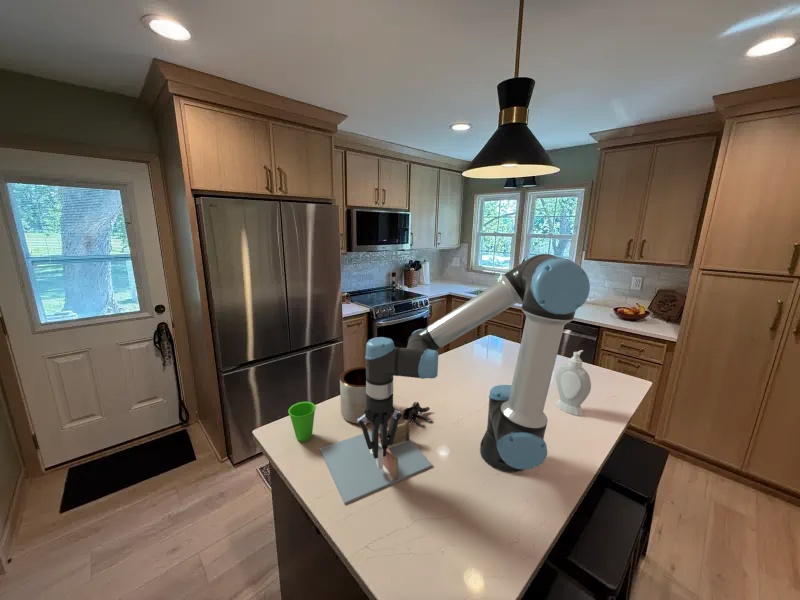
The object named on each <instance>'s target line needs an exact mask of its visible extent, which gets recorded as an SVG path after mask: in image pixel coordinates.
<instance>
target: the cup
mask: <svg viewBox="0 0 800 600" xmlns="http://www.w3.org/2000/svg"><path fill="white" fill-rule="evenodd" d="M316 409H317V406H316V404H314V403H313V402H311V401H310V402H309V401H300V402H297V403H295V404H293V405H291V406H290V407H289V408H288V411H287V413H288V415H289V417H290V419H291V423H292V427H293V431H294V433H295V434H294V435H295V438H296V440H297V441H298V442H303V443H304V442H307V441H309V440H311V438H312V436H313V430H314V422H315V421H314V419H315V411H316Z"/></svg>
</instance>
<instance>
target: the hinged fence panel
mask: <svg viewBox="0 0 800 600" xmlns="http://www.w3.org/2000/svg"><path fill="white" fill-rule="evenodd" d="M379 443H381V439H380V438H379ZM383 465H384V466H385V467H386V469H387V470H388V471H389V473H390V474H391V475H392V478H393V479H394V480H397V479H398V457H395V456H394V455H393V454H392V453H391V451H390V450H389V449H388V448H387V449H386V456H385V457H383Z"/></svg>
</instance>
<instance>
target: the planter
mask: <svg viewBox="0 0 800 600" xmlns="http://www.w3.org/2000/svg"><path fill="white" fill-rule="evenodd" d="M339 390H340V391H339V393H340V398H339V399H340V415H341V417H343V418H344V420H345V421H347V422H348V423H349V422H350V423H352V424H355V425H359V424H358V421H357V417H362V416H363V415H364V412H365V410H366V394H367V393H366V365H364V366H363V365H362V366H356V367H351V368H348V369H346V370H345V371H343V372H342V373H341V374H340V375H339ZM366 421H367V422H366V424H365V425H367V424H372V423H371V422H370V421H369V420H368V419H366Z"/></svg>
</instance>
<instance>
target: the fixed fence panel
mask: <svg viewBox="0 0 800 600" xmlns="http://www.w3.org/2000/svg"><path fill="white" fill-rule="evenodd" d="M410 424H411V423H410V421H409V420H404V422H402V423H398V426H397V429H396V433H395V437H394V440H393V444H396V443H399V442H401V441H404V440H406V441H409V439H410V430H411V429H410V428H411V426H410ZM388 430H389V428H387V434H388ZM378 436H379V438H380V439H381V431H378ZM393 444H392V445H393ZM388 446H390V445H387V447H388ZM372 452H373V449H372Z"/></svg>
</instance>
